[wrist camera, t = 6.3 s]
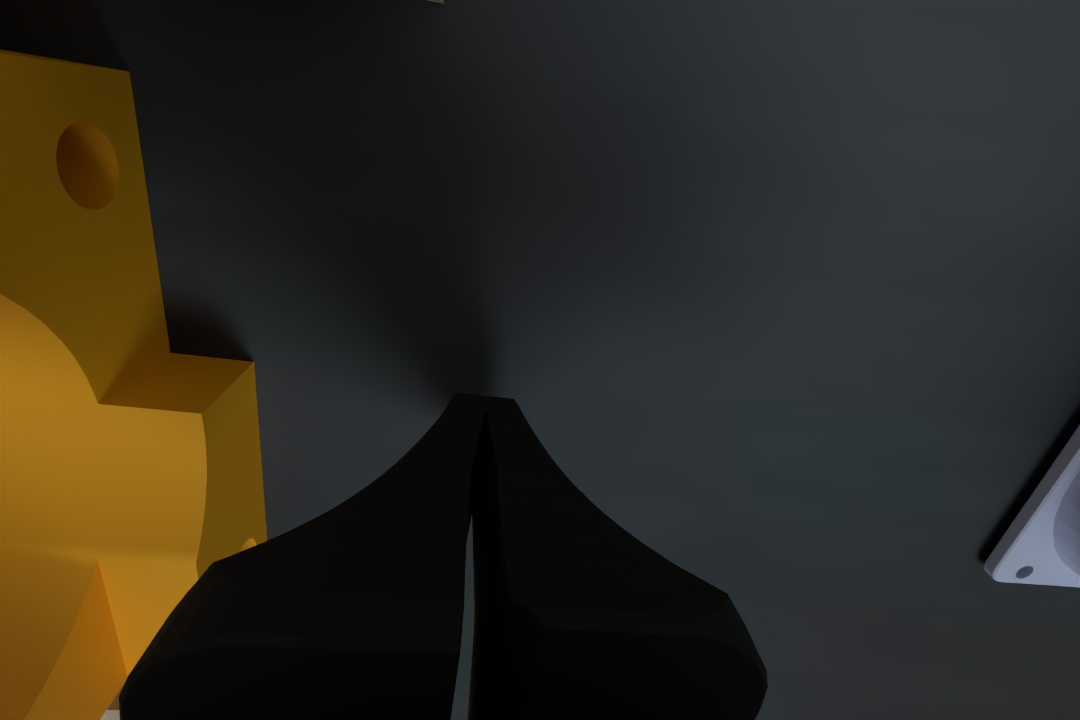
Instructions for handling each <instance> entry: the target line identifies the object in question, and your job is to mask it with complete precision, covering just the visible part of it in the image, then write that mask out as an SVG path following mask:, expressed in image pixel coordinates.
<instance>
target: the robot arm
mask: <svg viewBox="0 0 1080 720" xmlns="http://www.w3.org/2000/svg"><path fill="white" fill-rule="evenodd" d="M471 516H472V524H473V562H474V599H475V612H474V637H473V652H472V667H471V681H470V695H469V708H468V720H755V718H756V716H757V714H758V712H759V710H760V708H761V706H762V703H763V700H764V697H765V694H766V691H767V688H768V686H767V671H766V668H765V666H764V664H763V662H762V660H761V658H760V656H759V654H758V651H757V649H756V647H755V645H754V643H753V640H752V638H751V636H750V634H749V632H748V630H747V628H746V626H745V624H744V622H743V620H742V618H741V617H740V615H739V613H738V612H737V610H736V608H735V606H734V605H733V603H732V601H731V599H730V598H729V596H728V594H727V593H725V592H723V591H722V590H720V589H718V588H716V587H714V586H713V585H711V584H709V583H707V582H705V581H704V580H702V579H700V578H698V577H696V576H695V575H693V574H691V573H689V572H687V571H686V570H684V569H682V568H680V567H679V566H677V565H675V564H673V563H672V562H670V561H669V560H667V559H666V558H664V557H663V556H661V555H660V554H658V553H657V552H655V551H654V550H652V549H651V548H649V547H647V546H646V545H644V544H643V543H642V542H640V541H639V540H638V539H636V538H635V537H633V536H632V535H631V534H629V533H628V532H627V531H625V530H624V529H623V528H622V527H620V526H619V525H618V524H617V523H615V522H614V521H613V520H612V519H610V518H609V517H608V516H607V515H606V514H604V513H603V512H602V511H601V510H600V509H599V508H597V507H596V506H595V505H594V504H593V503H592V502H591V501H590V500H589V499H588V498H587V497H586V496H585V495H584V494H583V493H582V492H581V491H580V490H579V489H578V488H577V487H576V486H575V485H574V484H573V483H572V482H571V481H570V480H569V479H568V478H567V477H566V475H565V474H564V473H563V472H562V471H561V469H560V468H559V467H558V466H557V464H556V463H555V462H554V461H553V459H552V458H551V457H550V455H549V454H548V452H547V451H546V450H545V448H544V447H543V445H542V444H541V442H540V441H539V439H538V438H537V436H536V435H535V433H534V432H533V430H532V429H531V427H530V425H529V424H528V422H527V420H526V419H525V417H524V415H523V413H522V411H521V409H520V408H519V406H518V404H517V403H516V401H515V400H514V399H509V398H499V397H490V396H481V395H472V394H462V393H458V394H456V395H455V396H453V397H452V399H451V401H450V403H449V404H448V406H447V408H446V409H445V410H444V412H443V413H442V415H441V416H440V417H439V418H438V420H437V421H436V422H435V423H434V425H433V426H432V427H431V428H430V429H429V430H428V432H427V433H426V434H425V435H424V436H423V437H422V438H421V439H420V440H419V442H417V443H416V444H415V445H414V446H413V447H412V448H411V449H410V450H409V451H408V452H407V453H406V454H405V455H404V456H403V457H402V458H401V459H400V460H399V461H398V462H397V463H396V464H394V465H393V466H392V467H391V468H390V469H389V470H387V471H386V472H385V473H384V474H382V475H381V476H380V477H379V478H377V479H376V480H375V481H373V482H372V483H371V484H369V485H368V486H367V487H365V488H364V489H362V490H361V491H359V492H358V493H356V494H355V495H354V496H352V497H351V498H349V499H347V500H346V501H344V502H343V503H341V504H340V505H338V506H336V507H335V508H333V509H331V510H329V511H328V512H326V513H324V514H322V515H320V516H318V517H316V518H315V519H313V520H311V521H309V522H307V523H305V524H303V525H301V526H299V527H297V528H295V529H293V530H291V531H288V532H286V533H284V534H282V535H280V536H278V537H275V538H273V539H270V540H268V541H266V542H263V543H261V544H258V545H256V546H253V547H251V548H248V549H246V550H243V551H241V552H239V553H236V554H234V555H231V556H229V557H226V558H223V559H221V560H218V561H215V562H213V563H212V564H211V565H210V566H209V567H208V569H207V570H206V571H205V572H204V573H203V575H202V576H201V577H200V578H199V580H198V581H197V582H196V583H195V584H194V585H193V586H192V587H191V589H190V590H189V591H188V592H187V593H186V594H185V596H184V597H183V598H182V599H181V601H180V602H179V603H178V604H177V606H176V607H175V608H174V609H173V611H172V612H171V613H170V615H169V616H168V618H167V619H166V621H165V622H164V624H163V625H162V627H161V628H160V629H159V631H158V632H157V634H156V635H155V637H154V638H153V640H152V641H151V643H150V644H149V646H148V647H147V649H146V650H145V652H144V653H143V655H142V656H141V658H140V659H139V661H138V662H137V664H136V665H135V666H134V668H133V669H132V671H131V672H130V674H129V675H128V677H127V680H126V682H125V684H124V686H123V689H122V691H121V693H120V695H119V713H120V720H450V719H451V712H452V705H453V698H454V691H455V684H456V677H457V670H458V663H459V656H460V647H461V636H462V623H463V611H464V587H465V561H466V542H467V537H468V531H469V526H470V521H471ZM984 570H985V571H986V572H987V573H988V574H989V575H990V576H991V577H992V578H993V579H994V580H995V581H999V582H1009V583H1024V584H1039V585H1054V586H1070V587H1080V425H1079V426H1078V427H1077V429H1076V430H1075V432H1074V433H1073V435H1072V436H1071V438H1070V439H1069V441H1068V442H1067V443H1066V445H1065V446H1064V448H1063V449H1062V451H1061V452H1060V454H1059V455H1058V457H1057V458H1056V459H1055V461H1054V462H1053V464H1052V465H1051V467H1050V468H1049V470H1048V471H1047V472H1046V474H1045V475H1044V477H1043V478H1042V480H1041V481H1040V483H1039V484H1038V486H1037V487H1036V488H1035V490H1034V491H1033V493H1032V494H1031V496H1030V497H1029V499H1028V500H1027V502H1026V503H1025V504H1024V506H1023V507H1022V509H1021V510H1020V512H1019V513H1018V515H1017V516H1016V518H1015V519H1014V520H1013V522H1012V523H1011V525H1010V526H1009V528H1008V529H1007V531H1006V532H1005V534H1004V535H1003V536H1002V538H1001V539H1000V541H999V542H998V544H997V545H996V547H995V548H994V549H993V551H992V552H991V554H990V555H989V557H988V558H987V560H986V562H985V564H984Z"/></svg>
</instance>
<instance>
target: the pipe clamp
mask: <svg viewBox="0 0 1080 720" xmlns="http://www.w3.org/2000/svg"><path fill="white" fill-rule="evenodd" d="M266 541H267V531H266V518H265V504H264V491H263V477H262V463H261V450H260V436H259V422H258V409H257V395H256V382H255V368H254V362H250V361H241V360H232V359H222V358H213V357H204V356H195V355H185V354H176V353H170V346H169V340H168V333H167V326H166V319H165V312H164V305H163V298H162V291H161V285H160V278H159V271H158V264H157V257H156V250H155V243H154V237H153V230H152V223H151V216H150V209H149V202H148V195H147V188H146V182H145V175H144V168H143V161H142V154H141V147H140V140H139V134H138V127H137V120H136V113H135V106H134V99H133V92H132V85H131V79H130V72H129V71H123V70H118V69H112V68H106V67H100V66H95V65H89V64H83V63H77V62H72V61H66V60H60V59H54V58H49V57H43V56H37V55H31V54H26V53H20V52H14V51H8V50H3V49H0V720H100V719H101V718H102V716H103V715H104V713H105V712H106V710H107V709H108V707H109V706H110V704H111V703H112V701H113V700H114V698H115V697H116V695H117V694H118V692H119V691H120V689H121V688H122V686H123V685H124V683H125V682H126V680H127V677H128V675H129V674H130V672H131V671H132V669H133V668H134V666H135V665H136V664H137V662H138V661H139V659H140V658H141V656H142V655H143V653H144V652H145V650H146V649H147V647H148V646H149V644H150V643H151V641H152V640H153V638H154V637H155V635H156V634H157V632H158V631H159V629H160V628H161V627H162V625H163V624H164V622H165V621H166V619H167V618H168V616H169V615H170V613H171V612H172V611H173V609H174V608H175V607H176V606H177V604H178V603H179V602H180V601H181V599H182V598H183V597H184V596H185V594H186V593H187V592H188V591H189V590H190V589H191V587H192V586H193V585H194V584H195V583H196V582H197V581H198V580H199V578H200V577H201V576H202V575H203V573H204V572H205V571H206V570H207V569H208V567H209V566H210V565H211V564H212V563H213V562H215V561H218V560H221V559H223V558H226V557H229V556H231V555H234V554H236V553H239V552H241V551H243V550H246V549H248V548H251V547H253V546H256V545H258V544H261V543H263V542H266Z"/></svg>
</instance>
